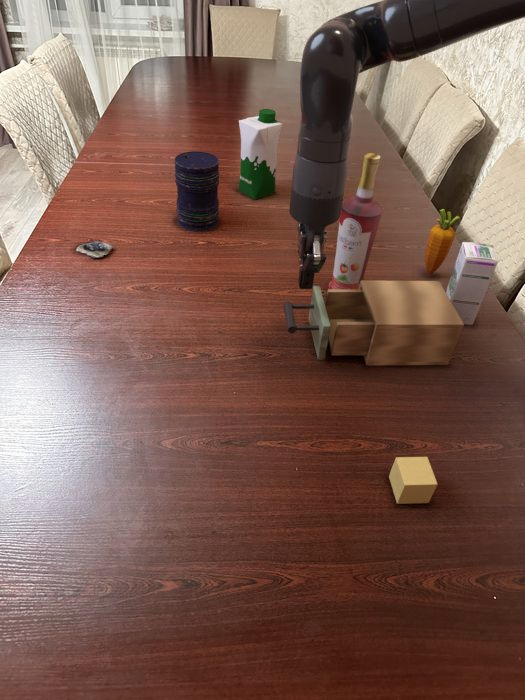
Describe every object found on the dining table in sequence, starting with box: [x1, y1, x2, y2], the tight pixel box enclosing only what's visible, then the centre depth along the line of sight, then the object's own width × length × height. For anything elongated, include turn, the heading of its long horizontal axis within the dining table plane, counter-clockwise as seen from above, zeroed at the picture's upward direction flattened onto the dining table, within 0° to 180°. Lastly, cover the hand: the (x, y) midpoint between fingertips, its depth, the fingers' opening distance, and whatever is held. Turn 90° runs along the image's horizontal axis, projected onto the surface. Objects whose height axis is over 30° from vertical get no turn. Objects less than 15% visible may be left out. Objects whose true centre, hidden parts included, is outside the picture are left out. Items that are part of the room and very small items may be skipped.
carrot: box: [424, 208, 461, 276], centre depth 108 cm, size 5×5×15 cm
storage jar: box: [174, 150, 220, 232], centre depth 119 cm, size 10×10×15 cm
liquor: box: [328, 152, 383, 290], centre depth 96 cm, size 7×7×28 cm
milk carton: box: [237, 108, 283, 201], centre depth 132 cm, size 9×9×20 cm
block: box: [388, 456, 439, 505], centre depth 70 cm, size 4×4×4 cm
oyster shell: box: [76, 240, 114, 259], centre depth 111 cm, size 7×8×2 cm
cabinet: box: [359, 279, 465, 366], centre depth 92 cm, size 15×13×9 cm
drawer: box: [283, 285, 375, 360], centre depth 91 cm, size 19×11×7 cm, turn 94°
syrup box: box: [445, 241, 499, 326], centre depth 97 cm, size 6×6×14 cm
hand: (305, 286), depth 85 cm, fingers closed
